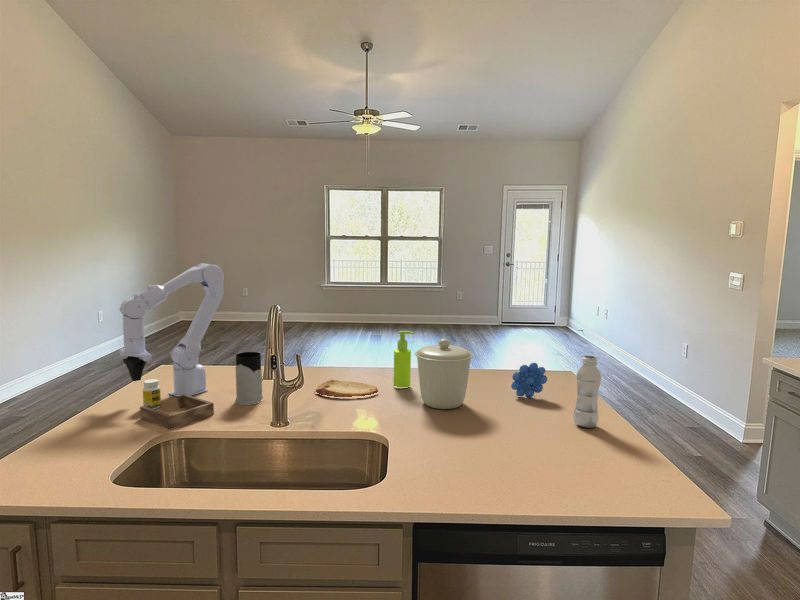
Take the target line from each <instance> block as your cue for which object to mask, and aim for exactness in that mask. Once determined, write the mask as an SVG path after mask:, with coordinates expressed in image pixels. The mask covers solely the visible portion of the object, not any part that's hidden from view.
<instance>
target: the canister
mask: <svg viewBox="0 0 800 600" xmlns="http://www.w3.org/2000/svg"><path fill="white" fill-rule="evenodd" d="M414 356H416V359H417V369H418V370H417V371H418V380H419V389H420V390H419V391H420V397H421V401H422V402H423V403H424V405H426V406H428V407H430V408H434V409H437V410H438V409H439V410H452V409H456V408H458V407H461V405H463V403H464V401H465V399H466V394H467V387H468V380H469V374H470V367H471V361H472V360H471V359H472V358H473V357H474V354H473V352H471V351H469V350H468V349H466V348H464V347H462V346H457V345H451V343H450V340H449V339H447V338H441V339H440V340H439V341H438V344H432V345H431V344H430V345H426V346H423V347H421V348H419V349H418V350H416V351H415V353H414Z"/></svg>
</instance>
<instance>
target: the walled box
mask: <svg viewBox="0 0 800 600" xmlns="http://www.w3.org/2000/svg"><path fill="white" fill-rule="evenodd" d="M176 397H177V398H176V399H177V408H178V407H179V409H181V408H187V407H188V408H187V409H186V410H183V411H178V412H176V413H173V414H172V413H171V414H168V413H165V412H162V411H159V410H158V409H151V405H149V404H148V405H145V406H144V405H142V406H139V410H140V411H139V412H140V420H144V421H145V422H149V423H152V424H153V425H156V426H158V427H162V428H165V429H168V430H173V429H174V428H178V427H181V426H183V425H187V424H190V423H192V422H196V421H199V420H201V419H204V418H207V417H211V416H213V415H215V412H214V411H215V408H214V402H211V401H208V400H205V399H202V398H199V397H195V396H194V395H192V396H189V395H186V394H183V395H180V396H176ZM184 406H185V407H184ZM190 408H191V409H190Z"/></svg>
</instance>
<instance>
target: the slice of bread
mask: <svg viewBox="0 0 800 600" xmlns="http://www.w3.org/2000/svg"><path fill="white" fill-rule="evenodd" d="M315 390H316V392H317V393H319V394H321V395H327V396H334V397H352V396H365V395H371V394H374V393H377V392H378V391H379V390H378V387H377V386H375V385H374V384H370V383H369V384H368V383H363V382H356V381H349V380H348V381H347V380H338V379H337V380H336V379H330V380H327V381H325V382H323V383H321V384H320V385H318V386H317V389H315ZM321 395H320V396H321Z"/></svg>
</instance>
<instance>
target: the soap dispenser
mask: <svg viewBox="0 0 800 600" xmlns="http://www.w3.org/2000/svg"><path fill="white" fill-rule="evenodd" d="M398 334H399V339H398V340H397V348H396V349H394V350H393V387H394V386H397V387H409V386H410V387H411V366H412V365H411V362H412V361H411V360H412V359H411V358H412V357H411V356H412V351H411V349H409V348H408V339H406V334H409V335H414V334H415V332H414V331H411V330H398Z"/></svg>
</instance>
